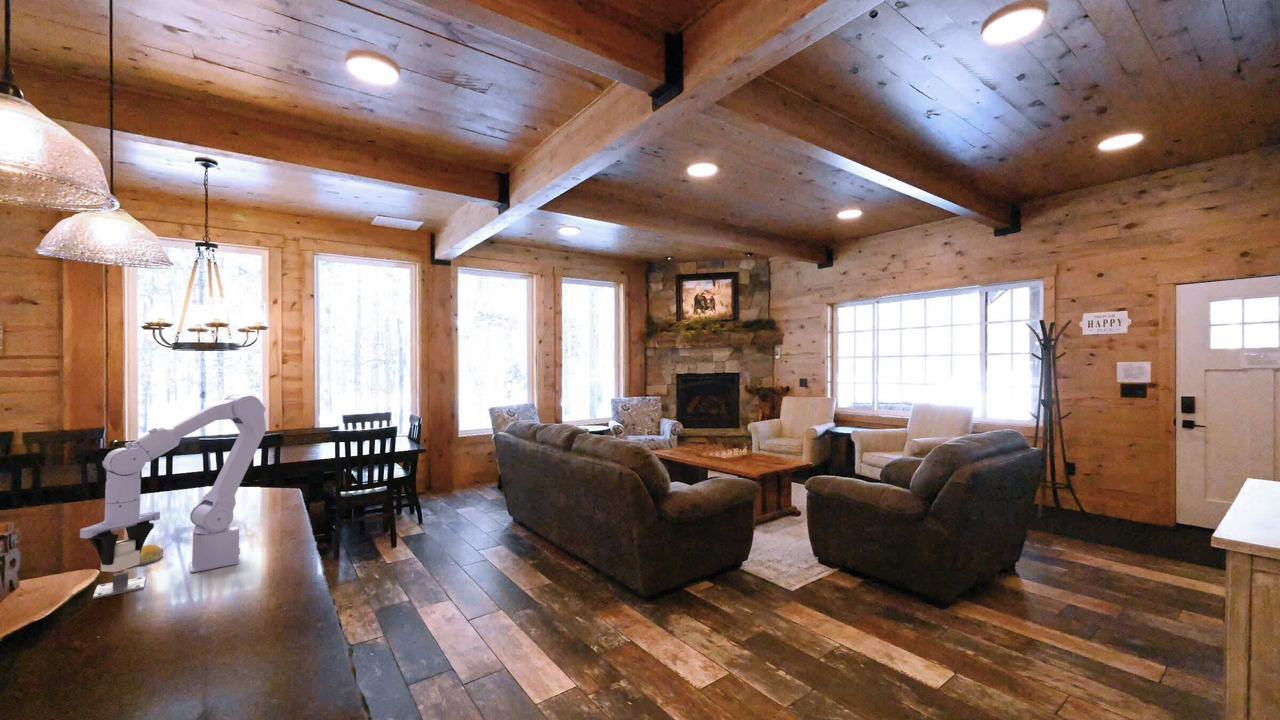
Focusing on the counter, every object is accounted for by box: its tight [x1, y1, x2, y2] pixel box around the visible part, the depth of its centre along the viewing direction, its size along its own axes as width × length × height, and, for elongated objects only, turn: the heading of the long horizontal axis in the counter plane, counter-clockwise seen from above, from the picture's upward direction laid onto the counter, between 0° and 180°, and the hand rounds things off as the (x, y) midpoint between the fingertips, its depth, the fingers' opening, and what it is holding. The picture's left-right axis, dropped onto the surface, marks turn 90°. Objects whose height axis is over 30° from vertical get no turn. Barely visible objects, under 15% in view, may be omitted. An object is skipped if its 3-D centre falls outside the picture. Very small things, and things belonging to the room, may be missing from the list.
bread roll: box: [138, 544, 164, 566], centre depth 134 cm, size 8×9×4 cm
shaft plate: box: [92, 570, 147, 600], centre depth 117 cm, size 8×8×3 cm
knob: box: [100, 539, 140, 573], centre depth 117 cm, size 5×5×6 cm
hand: (121, 560), depth 117 cm, fingers closed on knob, 5 cm apart
